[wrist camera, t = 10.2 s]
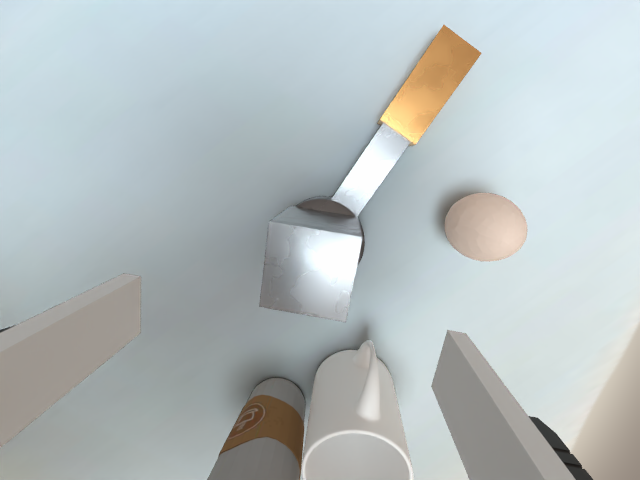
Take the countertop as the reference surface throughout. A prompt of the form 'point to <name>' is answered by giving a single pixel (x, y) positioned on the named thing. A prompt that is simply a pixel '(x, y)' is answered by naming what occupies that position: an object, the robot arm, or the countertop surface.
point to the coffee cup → (265, 436)
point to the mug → (355, 421)
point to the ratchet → (402, 123)
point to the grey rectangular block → (311, 263)
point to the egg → (485, 227)
